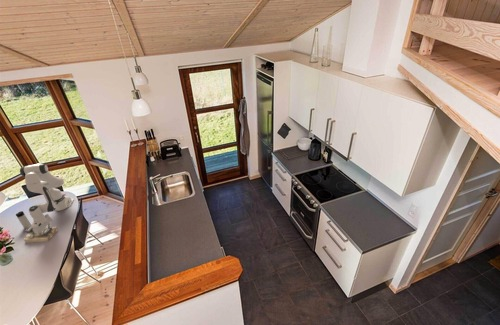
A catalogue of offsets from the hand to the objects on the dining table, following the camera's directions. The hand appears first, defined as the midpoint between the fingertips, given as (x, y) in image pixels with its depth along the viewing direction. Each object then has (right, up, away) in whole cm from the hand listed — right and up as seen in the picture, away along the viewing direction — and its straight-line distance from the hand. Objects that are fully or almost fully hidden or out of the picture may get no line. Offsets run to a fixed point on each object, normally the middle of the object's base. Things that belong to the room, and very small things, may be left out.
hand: (46, 230), depth 248 cm
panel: (-7, -6, +3) cm, 10 cm away
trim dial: (-10, -6, -4) cm, 13 cm away
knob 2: (0, -6, +4) cm, 7 cm away
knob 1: (-14, -3, +1) cm, 14 cm away
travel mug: (-32, 0, +15) cm, 35 cm away
